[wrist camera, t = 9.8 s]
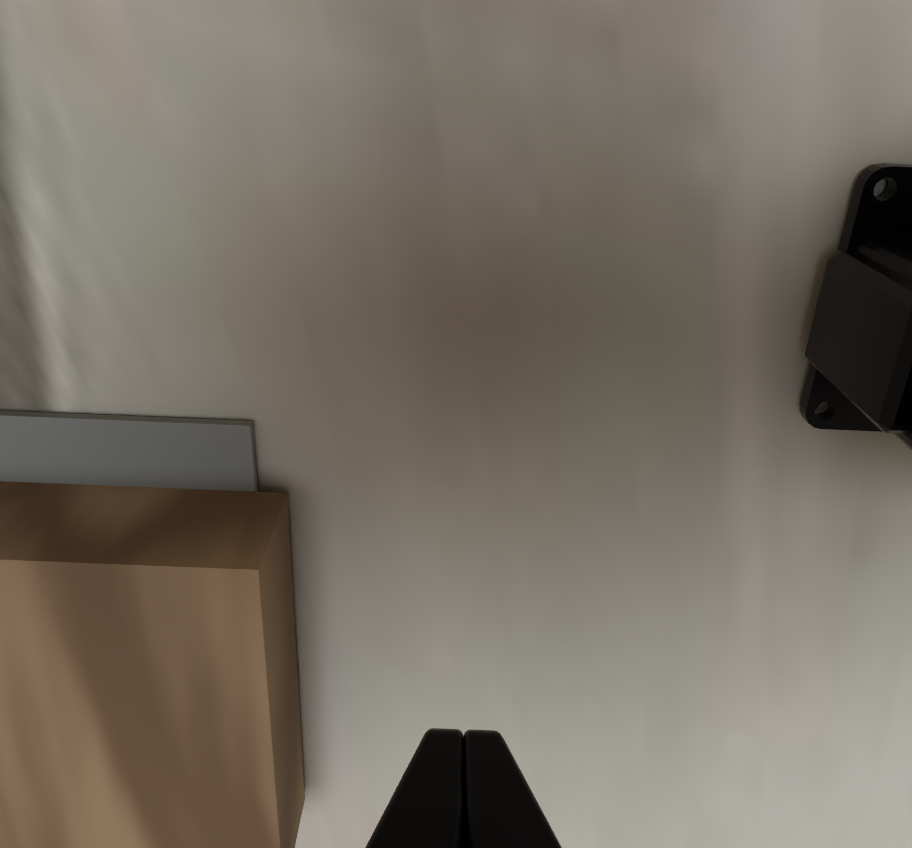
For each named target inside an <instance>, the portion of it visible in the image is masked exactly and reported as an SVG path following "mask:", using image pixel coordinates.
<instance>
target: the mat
mask: <svg viewBox="0 0 912 848" xmlns="http://www.w3.org/2000/svg"><path fill="white" fill-rule="evenodd" d="M0 481H8V482H33V483H57V484H82V485H106V486H131V487H155V488H179V489H204V490H228V491H253V492H258V484H257V471H256V457H255V444H254V431H253V421H243V420H220V419H196V418H172V417H148V416H124V415H100V414H76V413H52V412H28V411H5V410H0Z"/></svg>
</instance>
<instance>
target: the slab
mask: <svg viewBox="0 0 912 848" xmlns="http://www.w3.org/2000/svg"><path fill="white" fill-rule="evenodd" d="M304 799H305V794H304V776H303V758H302V741H301V723H300V705H299V687H298V670H297V652H296V634H295V616H294V599H293V581H292V563H291V545H290V527H289V510H288V493H277V492H253V491H228V490H204V489H179V488H155V487H131V486H106V485H82V484H57V483H33V482H8V481H0V848H295V843H296V838H297V833H298V828H299V823H300V819H301V814H302V809H303V804H304Z"/></svg>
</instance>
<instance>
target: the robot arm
mask: <svg viewBox="0 0 912 848" xmlns="http://www.w3.org/2000/svg"><path fill="white" fill-rule="evenodd" d="M883 178H887V180H888V188H887V190H886V192H885V193H884V194H883V195H881V196H880V197H876V198H875V196H874V187H875V185H876V183H877V182H879V181H880V180H881V179H883ZM805 356H806V357H807V359H808V360H809V361H810V366H809V370H808V374H807V378H806V382H805V386H804V390H803V394H802V398H801V402H800V412H801V415H802V417H803V418H804V419H805V420H806V421H807V422H808V423H809V424H810V425H811V426H813V427H815V428H819V429H836V430H860V431H883V432H886V433H894V434H895V435H896V436H897V437H899V438H900V439H901V440H902V441H903V442H904V443H905V444H906V445H907V446H908V447H909V448H910V449H911V450H912V165H904V164H877V165H873V166H871V167H869V168H868V169H866V170H865V171H864V172H863V173H862V174H861V175H860V176H859V178H858V180H857V182H856V185H855V188H854V192H853V196H852V200H851V204H850V208H849V212H848V216H847V220H846V224H845V228H844V232H843V236H842V240H841V243H840V247H839V251H838V252H837V253H836V254H834V255H833V256H832V257H831V258H830V259H829V260H828V263H827V267H826V271H825V275H824V279H823V283H822V287H821V291H820V295H819V299H818V303H817V307H816V311H815V316H814V320H813V324H812V328H811V332H810V336H809V340H808V344H807V348H806V352H805ZM825 402H829V406H828V408H827V410H825V411H824V412H822V413H818V414H816V413H815V410H816V409H817V407H818V406H819V405H820V404H822V403H825ZM366 848H562V847H561V845H560V844H559V842H558V840H557V838H556V836H555V834H554V832H553V830H552V829H551V827H550V825H549V823H548V821H547V819H546V817H545V815H544V814H543V812H542V810H541V808H540V806H539V804H538V802H537V800H536V799H535V797H534V795H533V793H532V791H531V789H530V787H529V785H528V784H527V782H526V780H525V778H524V776H523V774H522V772H521V770H520V769H519V767H518V765H517V763H516V761H515V759H514V757H513V755H512V754H511V752H510V750H509V748H508V746H507V744H506V742H505V740H504V739H503V737H502V736H501V734H500V733H499V732H497V731H490V730H468V731H466V732H465V734H464V736H463V734H462V732H461V731H460V730H458V729H437V728H433V729H429V730H428V731H427V732H426V733H425V735H424V736H423V738H422V740H421V742H420V744H419V746H418V748H417V750H416V752H415V754H414V756H413V758H412V759H411V761H410V763H409V765H408V767H407V769H406V771H405V773H404V775H403V777H402V779H401V781H400V782H399V784H398V786H397V788H396V790H395V792H394V794H393V796H392V798H391V800H390V802H389V804H388V806H387V807H386V809H385V811H384V813H383V815H382V817H381V819H380V821H379V823H378V825H377V827H376V829H375V830H374V832H373V834H372V836H371V838H370V840H369V842H368V844H367V846H366Z"/></svg>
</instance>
